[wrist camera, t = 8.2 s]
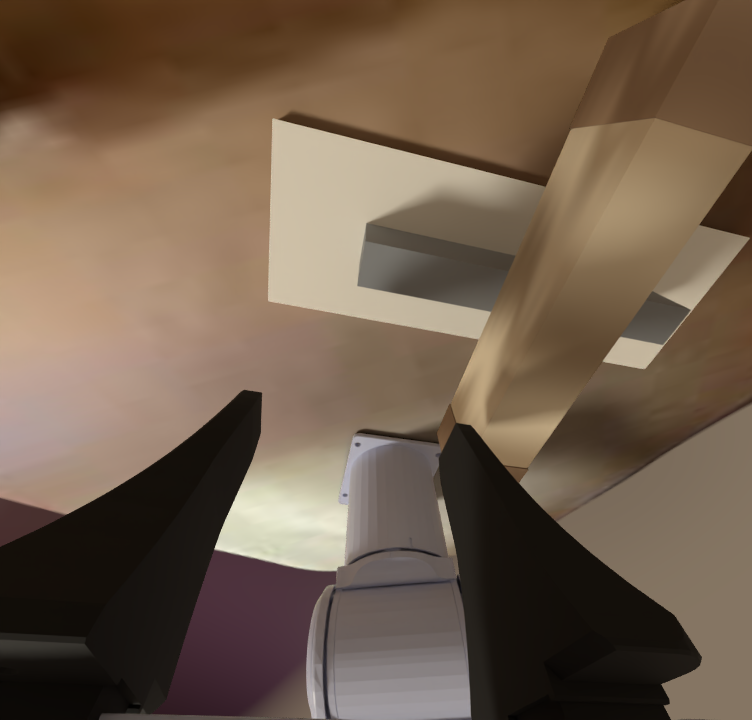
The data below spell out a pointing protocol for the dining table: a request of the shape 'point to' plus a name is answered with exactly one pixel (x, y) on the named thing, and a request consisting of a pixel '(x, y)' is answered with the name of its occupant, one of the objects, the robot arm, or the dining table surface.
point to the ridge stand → (432, 241)
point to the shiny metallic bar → (611, 218)
